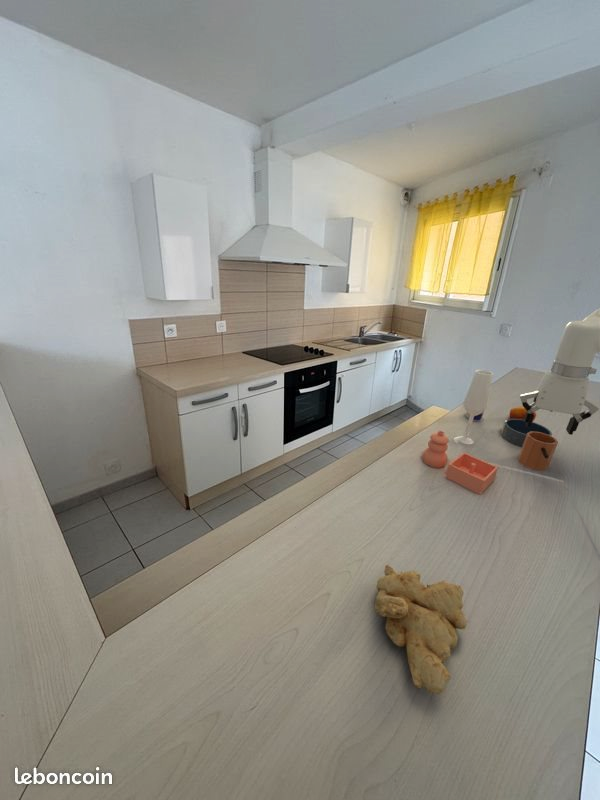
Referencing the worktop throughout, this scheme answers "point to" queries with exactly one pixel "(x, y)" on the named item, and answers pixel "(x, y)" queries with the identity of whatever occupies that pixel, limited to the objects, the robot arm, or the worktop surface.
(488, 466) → the pottery
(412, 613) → the ginger root
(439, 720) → the worktop surface
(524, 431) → the shallow round gray bowl
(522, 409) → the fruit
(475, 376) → the champagne flute
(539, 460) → the cup
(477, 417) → the energy drink
